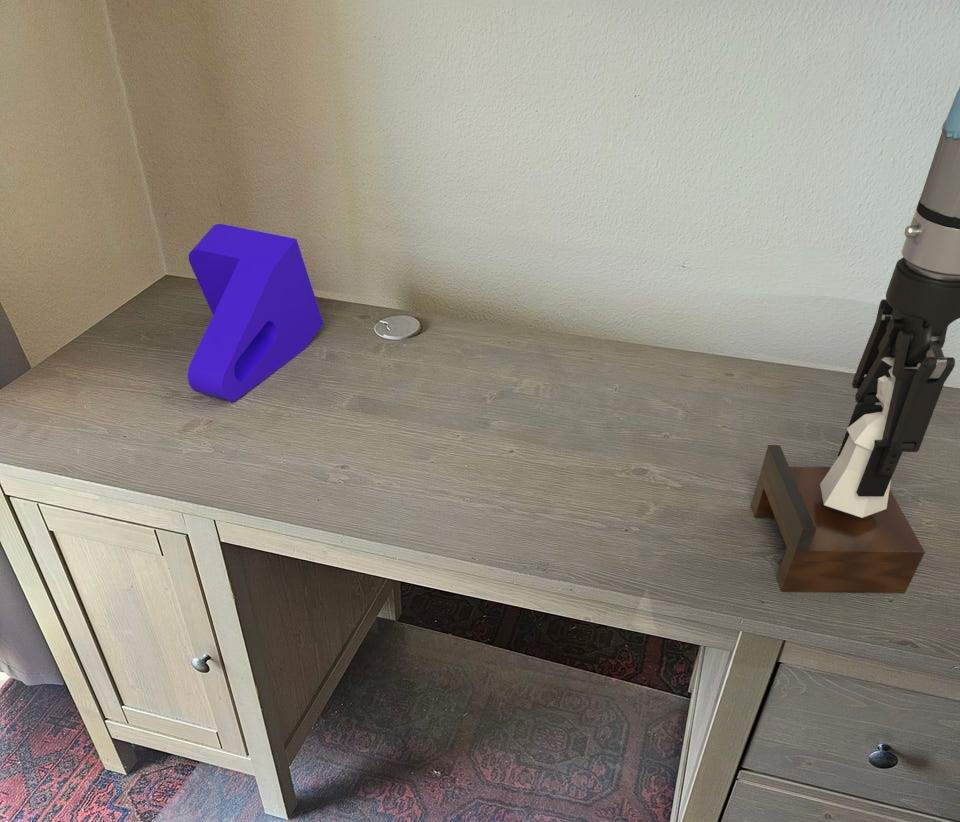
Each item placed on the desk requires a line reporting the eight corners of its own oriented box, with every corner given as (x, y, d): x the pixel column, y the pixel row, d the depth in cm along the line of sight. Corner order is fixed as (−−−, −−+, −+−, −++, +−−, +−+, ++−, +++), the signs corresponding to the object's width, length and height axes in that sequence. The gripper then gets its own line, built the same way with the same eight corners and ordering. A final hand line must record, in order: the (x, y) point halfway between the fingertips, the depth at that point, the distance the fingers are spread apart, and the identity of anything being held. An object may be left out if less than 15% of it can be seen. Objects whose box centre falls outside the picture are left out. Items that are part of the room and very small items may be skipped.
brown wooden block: (861, 507, 108) (886, 445, 102) (905, 593, 97) (936, 530, 90) (750, 506, 108) (768, 444, 102) (781, 592, 97) (803, 528, 90)
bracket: (323, 323, 139) (239, 304, 143) (296, 238, 126) (205, 220, 130) (242, 433, 128) (155, 408, 133) (204, 353, 115) (108, 328, 120)
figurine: (900, 503, 96) (966, 352, 84) (848, 524, 94) (908, 371, 81) (853, 471, 101) (909, 323, 88) (802, 490, 98) (852, 340, 85)
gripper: (867, 224, 85) (803, 428, 102) (939, 310, 72) (852, 529, 88) (943, 225, 85) (866, 429, 102) (1029, 311, 72) (925, 530, 88)
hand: (860, 475), depth 95 cm, fingers closed on figurine, 6 cm apart
